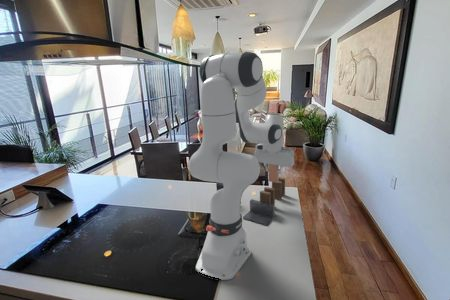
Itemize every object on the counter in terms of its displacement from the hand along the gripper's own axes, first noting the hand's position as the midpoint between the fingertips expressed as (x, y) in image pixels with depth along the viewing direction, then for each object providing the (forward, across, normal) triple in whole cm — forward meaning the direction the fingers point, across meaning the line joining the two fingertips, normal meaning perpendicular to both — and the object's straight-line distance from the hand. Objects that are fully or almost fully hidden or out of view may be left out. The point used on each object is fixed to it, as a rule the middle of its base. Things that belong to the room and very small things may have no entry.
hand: (273, 172), depth 122 cm
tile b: (+17, 0, -5) cm, 18 cm away
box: (+17, +23, +11) cm, 31 cm away
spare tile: (+5, 0, 0) cm, 5 cm away
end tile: (+17, 0, -10) cm, 20 cm away
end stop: (+17, 0, +17) cm, 24 cm away
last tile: (+17, 0, +10) cm, 20 cm away
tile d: (+17, 0, +5) cm, 18 cm away
